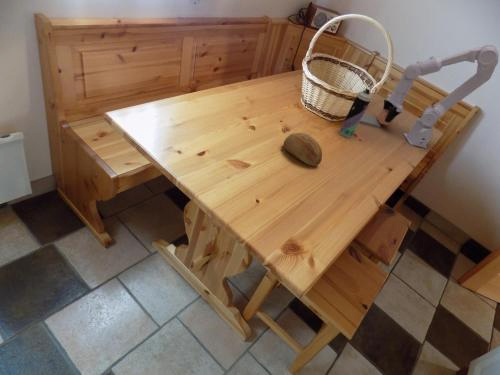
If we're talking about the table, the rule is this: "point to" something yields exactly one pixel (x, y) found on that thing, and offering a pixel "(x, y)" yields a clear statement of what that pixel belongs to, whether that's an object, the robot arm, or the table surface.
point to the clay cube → (384, 117)
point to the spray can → (355, 113)
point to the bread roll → (304, 148)
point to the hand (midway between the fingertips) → (385, 118)
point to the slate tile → (369, 120)
